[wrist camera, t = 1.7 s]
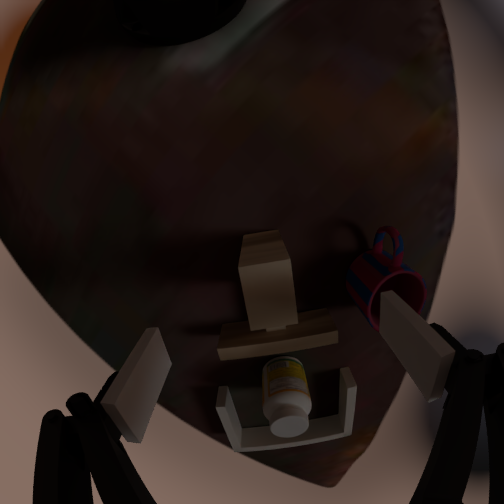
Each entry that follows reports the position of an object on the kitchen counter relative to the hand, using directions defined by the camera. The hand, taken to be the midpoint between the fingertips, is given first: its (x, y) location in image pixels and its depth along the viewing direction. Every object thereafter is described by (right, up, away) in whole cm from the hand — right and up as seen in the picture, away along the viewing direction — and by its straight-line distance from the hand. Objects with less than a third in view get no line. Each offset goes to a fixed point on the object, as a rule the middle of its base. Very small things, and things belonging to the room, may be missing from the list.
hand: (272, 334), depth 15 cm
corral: (+4, -17, +20) cm, 26 cm away
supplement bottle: (+3, -10, +18) cm, 21 cm away
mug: (+12, +3, +14) cm, 19 cm away
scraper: (+1, +1, +14) cm, 14 cm away
